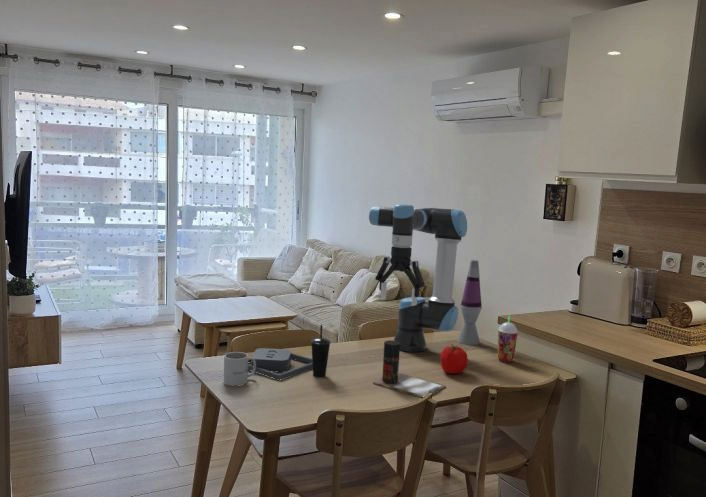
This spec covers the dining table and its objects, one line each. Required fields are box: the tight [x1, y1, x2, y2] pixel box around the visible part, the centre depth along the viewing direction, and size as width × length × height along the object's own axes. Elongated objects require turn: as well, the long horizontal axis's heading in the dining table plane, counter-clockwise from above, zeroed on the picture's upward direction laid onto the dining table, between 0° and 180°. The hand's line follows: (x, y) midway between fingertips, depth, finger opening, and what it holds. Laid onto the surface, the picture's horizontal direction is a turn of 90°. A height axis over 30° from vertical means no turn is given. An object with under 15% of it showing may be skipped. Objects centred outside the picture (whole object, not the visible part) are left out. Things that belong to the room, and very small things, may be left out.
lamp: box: [457, 259, 483, 346], centre depth 278 cm, size 11×11×40 cm
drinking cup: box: [310, 324, 332, 378], centre depth 222 cm, size 8×8×20 cm
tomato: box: [439, 344, 469, 374], centre depth 233 cm, size 12×12×11 cm
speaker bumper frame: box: [248, 352, 313, 381], centre depth 232 cm, size 24×24×2 cm
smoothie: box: [497, 315, 519, 364], centre depth 252 cm, size 8×8×20 cm
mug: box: [223, 351, 256, 386], centre depth 212 cm, size 12×9×10 cm
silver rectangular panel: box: [373, 372, 447, 398], centre depth 217 cm, size 22×16×1 cm
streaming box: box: [250, 347, 292, 373], centre depth 231 cm, size 14×14×5 cm
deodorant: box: [381, 339, 401, 384], centre depth 218 cm, size 6×6×15 cm
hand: (398, 302), depth 217 cm, fingers open, 13 cm apart
